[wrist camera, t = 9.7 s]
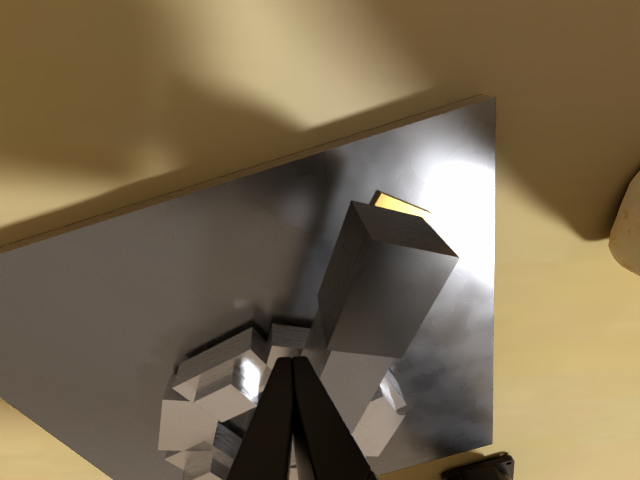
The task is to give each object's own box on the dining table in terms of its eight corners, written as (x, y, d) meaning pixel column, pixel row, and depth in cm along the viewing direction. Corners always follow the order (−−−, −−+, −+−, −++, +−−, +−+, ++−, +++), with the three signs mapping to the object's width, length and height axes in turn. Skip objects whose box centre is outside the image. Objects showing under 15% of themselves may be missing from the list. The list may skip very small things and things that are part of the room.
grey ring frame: (351, 468, 23) (368, 559, 19) (161, 464, 20) (130, 572, 16) (505, 218, 14) (604, 287, 10) (195, 140, 11) (143, 192, 7)
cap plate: (485, 431, 26) (512, 478, 23) (184, 514, 27) (173, 570, 24) (480, 94, 13) (542, 104, 10) (-111, 282, 14) (-218, 343, 11)
